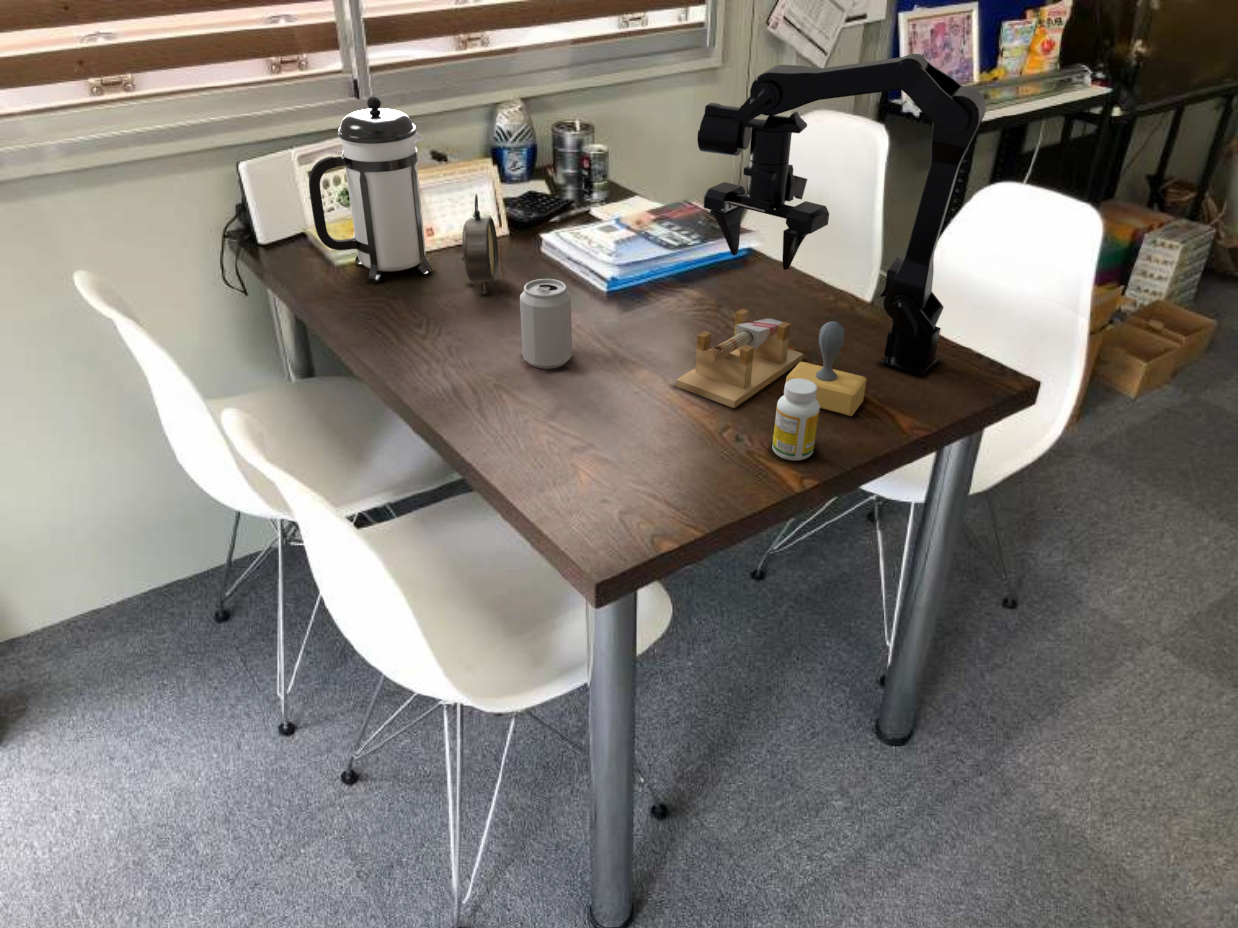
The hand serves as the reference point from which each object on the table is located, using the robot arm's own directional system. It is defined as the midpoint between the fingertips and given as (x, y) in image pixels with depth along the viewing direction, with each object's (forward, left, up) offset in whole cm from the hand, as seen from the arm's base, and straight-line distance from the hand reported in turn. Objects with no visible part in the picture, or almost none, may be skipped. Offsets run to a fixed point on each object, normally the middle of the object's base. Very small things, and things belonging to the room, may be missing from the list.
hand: (760, 261), depth 154 cm
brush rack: (-6, +13, -12) cm, 19 cm away
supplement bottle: (-23, +27, -12) cm, 38 cm away
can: (+19, +28, -12) cm, 36 cm away
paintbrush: (-6, +13, -8) cm, 16 cm away
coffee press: (+65, +20, -12) cm, 69 cm away
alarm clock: (+47, +14, -12) cm, 51 cm away
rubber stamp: (-19, +12, -12) cm, 26 cm away
